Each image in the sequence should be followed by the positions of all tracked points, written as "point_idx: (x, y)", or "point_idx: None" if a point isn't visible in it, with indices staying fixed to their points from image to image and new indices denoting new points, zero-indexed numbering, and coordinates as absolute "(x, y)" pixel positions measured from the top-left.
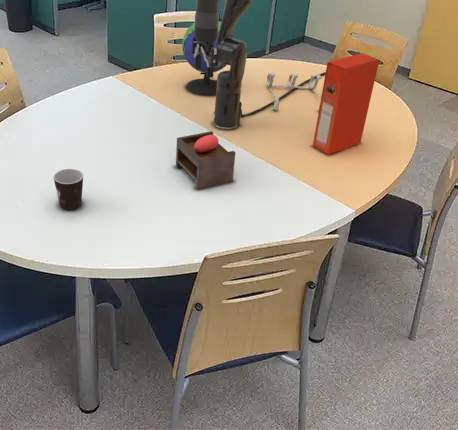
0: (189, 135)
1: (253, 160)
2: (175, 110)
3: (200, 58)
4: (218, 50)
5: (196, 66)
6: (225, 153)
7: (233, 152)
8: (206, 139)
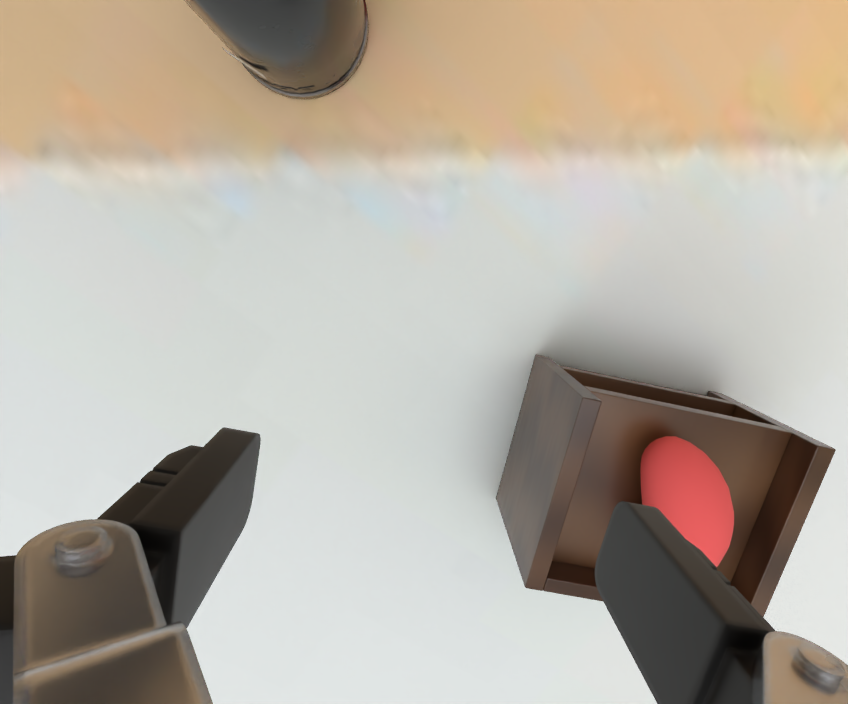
0: (546, 525)
1: (665, 191)
2: (8, 149)
3: (184, 549)
4: None
5: (236, 526)
6: (807, 498)
7: (830, 460)
8: (718, 559)
